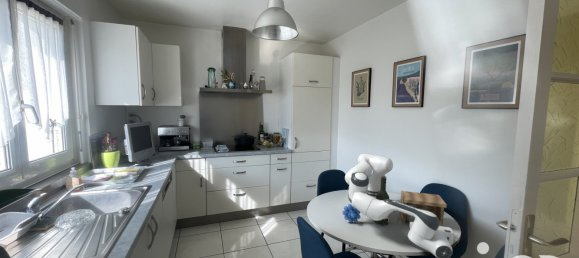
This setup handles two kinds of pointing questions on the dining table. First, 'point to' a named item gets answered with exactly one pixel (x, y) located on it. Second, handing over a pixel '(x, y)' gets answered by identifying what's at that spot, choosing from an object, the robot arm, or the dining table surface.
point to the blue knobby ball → (351, 213)
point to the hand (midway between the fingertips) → (427, 223)
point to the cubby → (424, 203)
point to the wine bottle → (382, 196)
